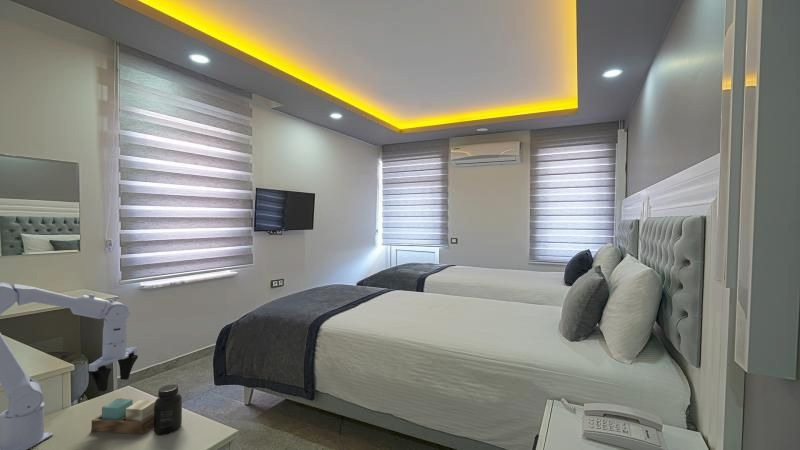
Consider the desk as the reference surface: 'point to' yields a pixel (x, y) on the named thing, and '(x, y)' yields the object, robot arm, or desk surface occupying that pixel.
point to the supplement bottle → (167, 410)
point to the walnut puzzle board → (122, 425)
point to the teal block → (116, 409)
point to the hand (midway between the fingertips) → (113, 384)
